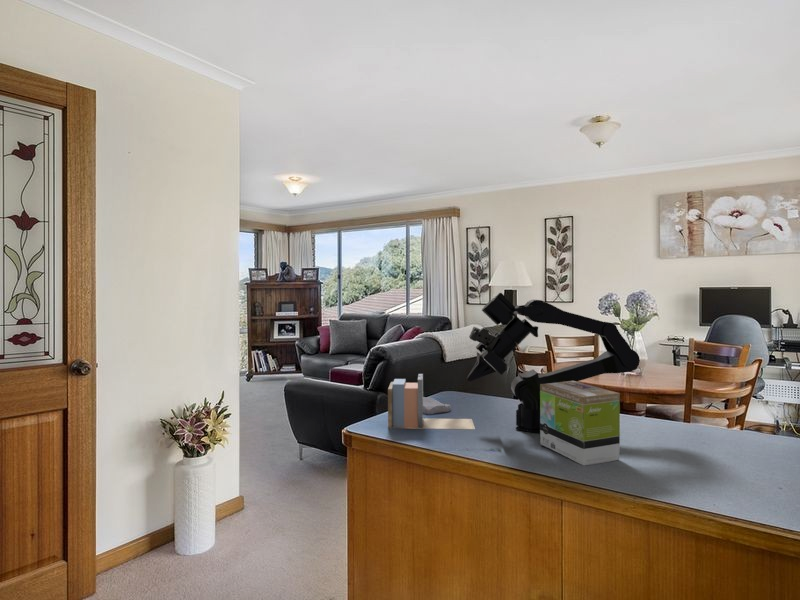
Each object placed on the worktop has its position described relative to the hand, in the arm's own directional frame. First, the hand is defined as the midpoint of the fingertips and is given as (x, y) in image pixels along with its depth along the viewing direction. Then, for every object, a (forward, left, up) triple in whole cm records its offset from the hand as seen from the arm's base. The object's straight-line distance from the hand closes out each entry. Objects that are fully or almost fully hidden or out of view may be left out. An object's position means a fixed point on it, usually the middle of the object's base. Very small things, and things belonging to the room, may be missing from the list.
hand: (468, 380), depth 132 cm
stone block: (+17, -10, -13) cm, 24 cm away
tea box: (-29, +5, -13) cm, 32 cm away
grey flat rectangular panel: (+11, +6, -11) cm, 17 cm away
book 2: (+13, +8, -11) cm, 19 cm away
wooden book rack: (+8, +5, -13) cm, 16 cm away
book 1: (+15, +9, -11) cm, 21 cm away
